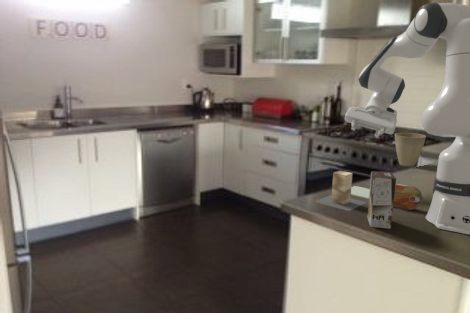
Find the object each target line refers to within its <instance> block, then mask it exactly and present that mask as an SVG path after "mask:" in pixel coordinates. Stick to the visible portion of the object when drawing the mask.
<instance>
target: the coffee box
mask: <svg viewBox="0 0 470 313" xmlns="http://www.w3.org/2000/svg"><path fill="white" fill-rule="evenodd" d="M396 184H397V178H396V177H395V175H394V174H393V173H392V171H380V170H379V171H373V170H371V172H370V183H369V189H370V192H369V199H368V206H367V216H366V217H367V221H368V224H369V226H370V227H371V228H380V229H389V230H390V229H392V221H393V213H394V212H393V211H394V207H393V203H394V194H395V185H396Z"/></svg>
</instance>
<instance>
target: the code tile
mask: <svg viewBox="0 0 470 313" xmlns="http://www.w3.org/2000/svg"><path fill="white" fill-rule="evenodd" d="M331 198H332V194H330V195H327V196H325V197H322V198H320V199H318V200H316V201H314V203H316V204H321V205H325V206H328V207H332V208H336V209H339V210H344V211H347V212H350V211H352V210H354V209H357V208H359V207H360V206H363V205H364V204H367V203H368V202H367V201H363V200H360V199H356V198H352V197H351V198H350V202H349V203H347V204H345V205H341V204H338V203H334V202H331Z"/></svg>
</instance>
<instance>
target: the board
mask: <svg viewBox="0 0 470 313" xmlns="http://www.w3.org/2000/svg"><path fill="white" fill-rule="evenodd" d="M369 192H370V188H366V187H362V186H358V185H354V186H351V196H353V197H358V198H361V199H362V198H363V199H366V200H369Z"/></svg>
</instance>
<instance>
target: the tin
mask: <svg viewBox="0 0 470 313" xmlns="http://www.w3.org/2000/svg"><path fill="white" fill-rule="evenodd" d="M422 202H423V194H422V192H421V190H420V189H418V188H417V187H416V186H413V185H407V184H399V183H396V185H395V194H394V203H393V208H398V209H399V208H400V209H405V210H407V211H408V210H409V211H412V210H415V209H417V208H419V207H420V205H421V203H422Z"/></svg>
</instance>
